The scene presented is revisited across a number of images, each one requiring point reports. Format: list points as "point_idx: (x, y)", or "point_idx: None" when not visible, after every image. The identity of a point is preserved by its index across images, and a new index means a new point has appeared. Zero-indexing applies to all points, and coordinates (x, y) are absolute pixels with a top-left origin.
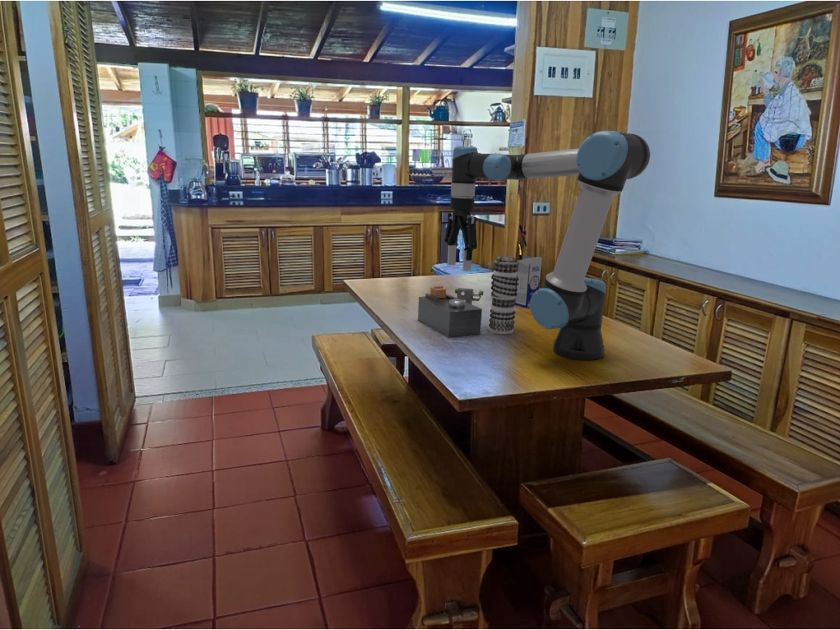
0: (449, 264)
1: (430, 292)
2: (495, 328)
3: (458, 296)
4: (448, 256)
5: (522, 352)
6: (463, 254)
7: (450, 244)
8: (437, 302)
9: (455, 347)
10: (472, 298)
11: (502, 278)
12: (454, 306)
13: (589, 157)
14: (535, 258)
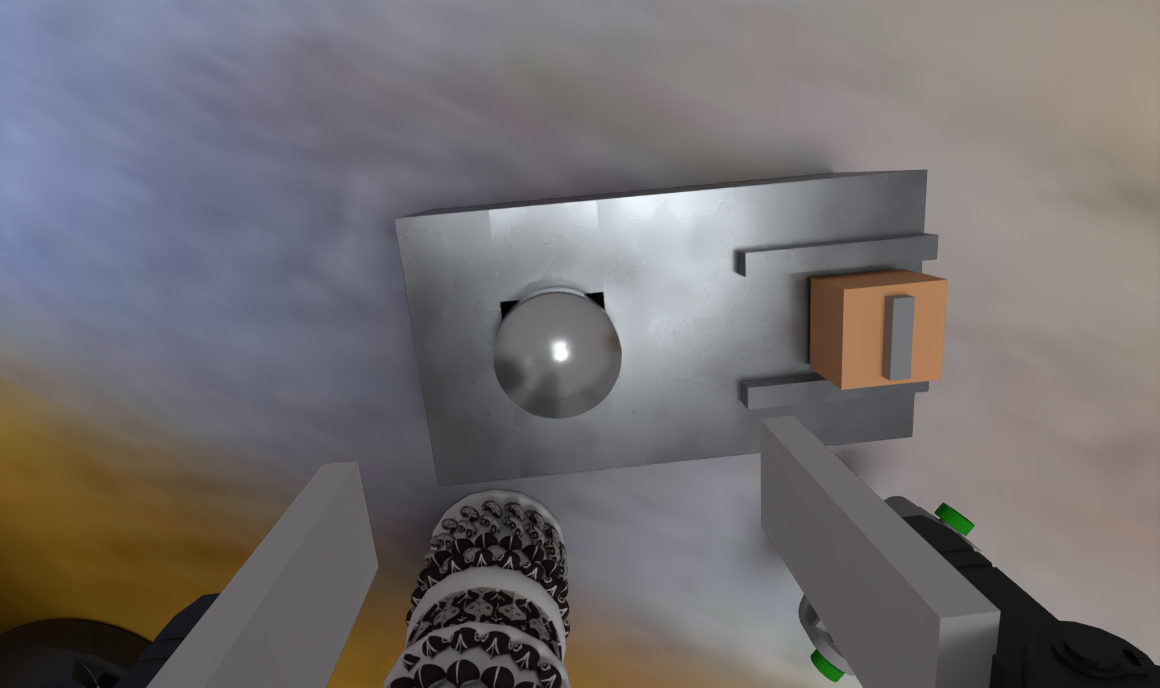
0: (763, 439)
1: (917, 272)
2: (460, 514)
3: (898, 507)
4: (830, 478)
5: (110, 479)
6: (239, 619)
7: (1008, 684)
8: (704, 246)
9: (241, 166)
10: None
11: None
12: (511, 309)
13: None
14: None
